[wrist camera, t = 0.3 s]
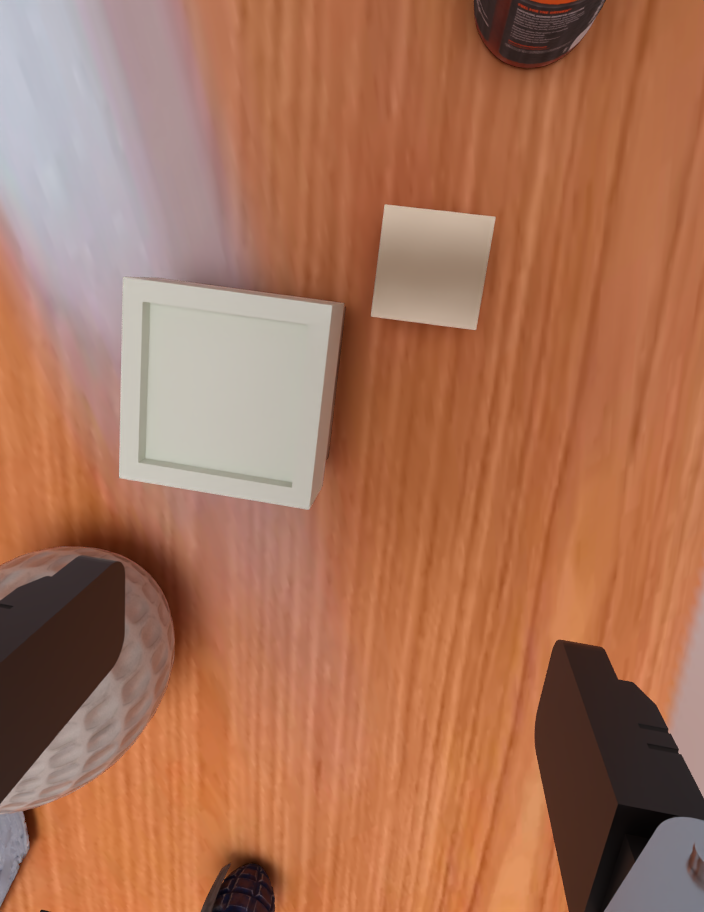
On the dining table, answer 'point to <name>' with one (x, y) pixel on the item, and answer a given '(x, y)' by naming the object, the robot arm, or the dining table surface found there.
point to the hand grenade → (241, 891)
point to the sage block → (227, 389)
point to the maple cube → (432, 266)
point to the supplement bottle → (533, 28)
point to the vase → (116, 698)
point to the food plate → (11, 848)
